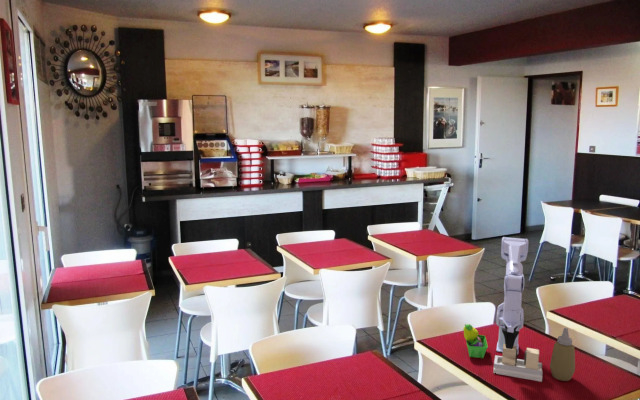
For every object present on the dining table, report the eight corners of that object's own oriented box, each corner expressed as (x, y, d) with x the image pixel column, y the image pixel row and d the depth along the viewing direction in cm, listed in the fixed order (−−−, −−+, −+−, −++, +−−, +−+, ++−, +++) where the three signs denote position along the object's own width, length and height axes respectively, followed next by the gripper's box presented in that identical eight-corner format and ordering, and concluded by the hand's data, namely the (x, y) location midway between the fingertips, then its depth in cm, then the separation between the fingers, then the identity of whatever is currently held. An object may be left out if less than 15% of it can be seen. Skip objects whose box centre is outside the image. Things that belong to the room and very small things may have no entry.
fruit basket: (487, 360, 198) (489, 331, 196) (462, 357, 200) (464, 329, 198) (484, 347, 209) (486, 320, 207) (461, 345, 211) (462, 318, 209)
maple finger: (502, 361, 193) (503, 343, 192) (516, 364, 191) (517, 346, 190) (501, 366, 189) (503, 348, 188) (516, 369, 188) (517, 350, 187)
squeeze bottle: (572, 374, 188) (577, 325, 185) (575, 384, 180) (580, 334, 178) (548, 370, 191) (552, 322, 188) (549, 380, 183) (554, 331, 180)
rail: (494, 361, 197) (496, 339, 196) (541, 369, 191) (543, 347, 190) (493, 373, 188) (494, 350, 187) (541, 381, 182) (543, 358, 181)
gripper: (501, 300, 196) (498, 334, 198) (499, 313, 183) (496, 350, 185) (521, 302, 193) (518, 337, 196) (521, 316, 180) (518, 353, 182)
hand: (509, 344), depth 190 cm, fingers open, 7 cm apart
